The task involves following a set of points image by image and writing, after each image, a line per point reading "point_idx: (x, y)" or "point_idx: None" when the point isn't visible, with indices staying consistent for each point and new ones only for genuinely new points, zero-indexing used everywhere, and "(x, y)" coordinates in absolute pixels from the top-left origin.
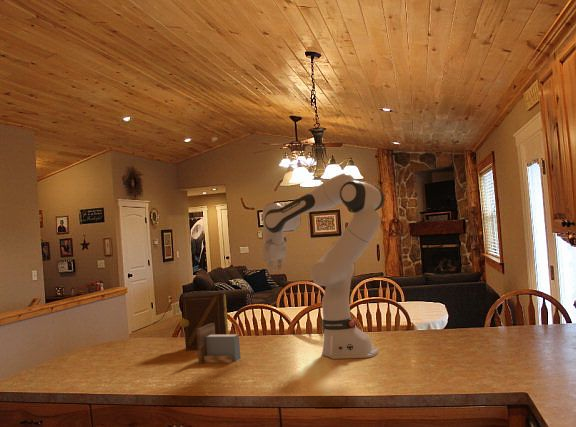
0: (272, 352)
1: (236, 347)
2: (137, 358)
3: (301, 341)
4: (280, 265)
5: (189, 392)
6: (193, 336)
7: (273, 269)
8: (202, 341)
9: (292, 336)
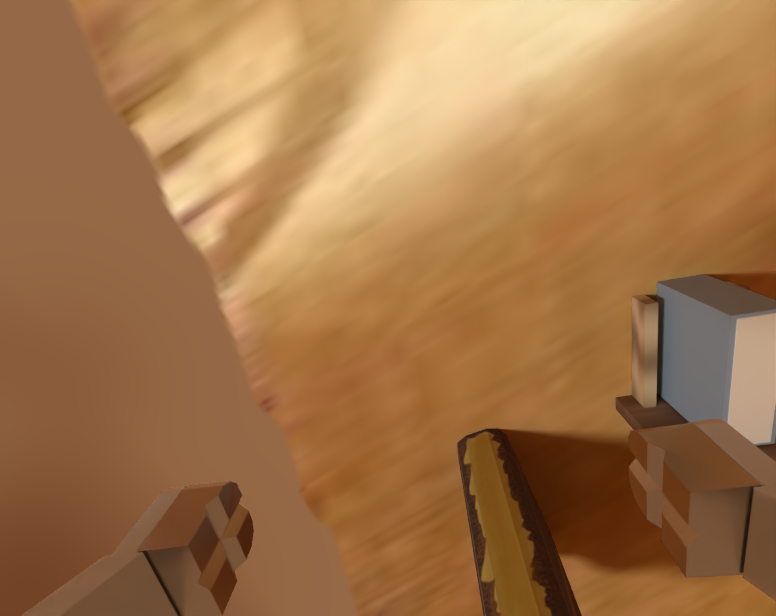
0: (545, 202)
1: (726, 292)
2: (665, 608)
3: (326, 180)
4: (197, 545)
5: None
6: (558, 559)
7: (739, 436)
8: None
9: (250, 277)
